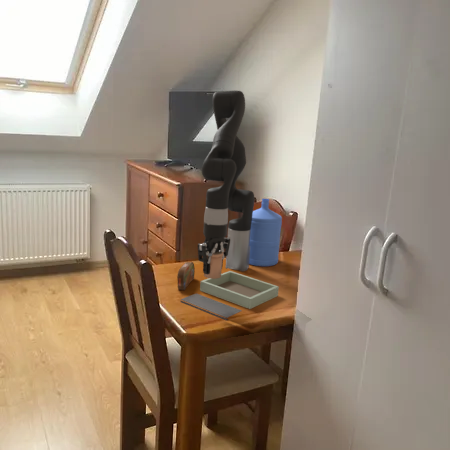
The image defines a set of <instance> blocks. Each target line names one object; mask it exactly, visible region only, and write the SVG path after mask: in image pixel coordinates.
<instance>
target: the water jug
mask: <svg viewBox="0 0 450 450" xmlns="http://www.w3.org/2000/svg"><path fill="white" fill-rule="evenodd" d="M269 202H270V199H269V198H261V207H260V208H257V209H255V210H253V214H252V223H251V232H250V245H249V246H250V258H249V265H252V266H255V267H256V266H257V267H271V266H276V265H277V264H278V262H279V251H280V243H281V242H280V241H281V240H280V239H281V230H282V224H283V221H282V220H283V217H282V215H280V214H279V213H277V212H275V211H273V210H271V209H270V208H269V206H270V205H269V204H270V203H269Z"/></svg>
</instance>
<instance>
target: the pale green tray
mask: <svg viewBox="0 0 450 450" xmlns="http://www.w3.org/2000/svg"><path fill="white" fill-rule="evenodd" d="M199 286H200V287H199V291H200V292H202V293H206V294H209V295H211V296H213V297H215V298H219V299H222V300H225V301H228V302H230V303H233V304H235V305H238V306H241V307H243V308H246V309H249V310H251V309H253V308H256V307H257V306H260V305H261V304H263V303H266V302H268V301H270V300H272V299H274V298H276V297H278V296H279V290H280V289H279V288H280V286H278V285H276V284H272V283H270V282H266V281H263V280H261V279H256V278H254V277H252V276H251V277H250V276H247V275H244V274H241V273H238V272H235V271H232V270H228V271H226V272H223V273H221V277H220V278H217V279H211V278H206V279H205V278H204V279H203V280H200V283H199Z"/></svg>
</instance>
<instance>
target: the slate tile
mask: <svg viewBox="0 0 450 450" xmlns="http://www.w3.org/2000/svg"><path fill="white" fill-rule="evenodd" d="M180 303H182V304H184V305H186V306H189V307H192V308H194V309H197V310H199V311H202V312H204V313H206V314H209V315H212V316H215V317H216V318H219V319H221V320H223V321H226V322H227V321H229V319H228V318H231V317H232V316H234V315H236V314H238V313H240V312H242V311H243V310H241V309H238V308H237V307H233V306H231V305H228V304H225V303H223V302H220V301H218V300H216V299H213V298H209V297H208V296H204V295H202V294H200V293H194V294H192V295H188V296H186V297H183V298H181V299H180Z"/></svg>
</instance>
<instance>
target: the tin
mask: <svg viewBox="0 0 450 450" xmlns="http://www.w3.org/2000/svg"><path fill="white" fill-rule="evenodd" d="M195 273H196V271H195V264H194V262H193V261H192V262H191V261H190V262H189V261H185V262H184V264H182V266H181V267H180V268H179V269H178V272H177V275H176V277H177V289H178V290H181V291H186V289H187V287H188V286H189V284H190V283H191V282H192V281H194V280H195Z"/></svg>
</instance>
